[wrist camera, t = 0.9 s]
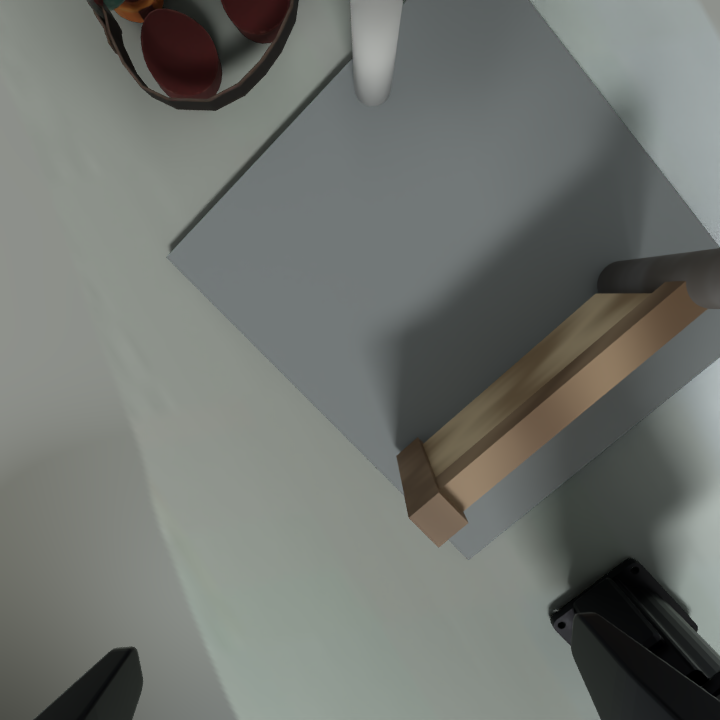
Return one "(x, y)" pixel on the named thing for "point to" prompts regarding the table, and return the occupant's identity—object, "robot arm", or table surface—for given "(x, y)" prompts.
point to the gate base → (446, 237)
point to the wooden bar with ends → (555, 383)
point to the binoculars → (196, 47)
